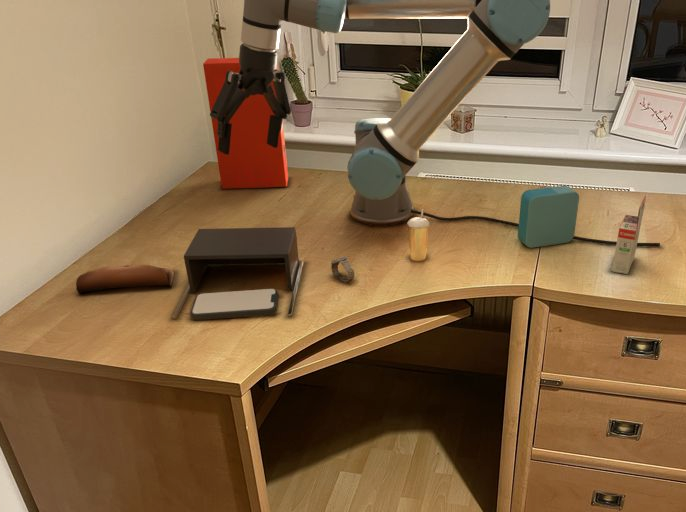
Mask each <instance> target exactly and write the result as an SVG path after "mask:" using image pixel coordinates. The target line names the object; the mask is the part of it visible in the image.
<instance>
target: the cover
mask: <svg viewBox="0 0 686 512" xmlns="http://www.w3.org/2000/svg"><path fill="white" fill-rule="evenodd" d="M183 260H184V261H183V262H184V264H185V271H186V276H187V281H188V284H189V286H190V293H196V290H197V288H198V286H199V284H200V282H201V280H202V278H203V276H204V274H205V272H206V270H207V268H208V266H221V265H222V266H223V265H224V266H227V265H228V266H229V265H230V266H231V265H278V264H279V265H284V266H285V276H286V284H287V291H290V292H291V291H292V292H293V289H294V285H295V281H296V277H297V273H298V268H299V264H300V259H299V248H298V237H297V228H296V226H292V227H291V226H287V227H285V226H283V227H281V226H279V227H231V228H230V227H229V228H225V227H224V228H198V229H197V231H196V233H195V235H194V237H193V238H192V240H191V242H190V244H189V245H188V247H187V249H186V251H185V253H184V254H183Z"/></svg>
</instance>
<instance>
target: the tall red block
mask: <svg viewBox="0 0 686 512" xmlns="http://www.w3.org/2000/svg"><path fill="white" fill-rule="evenodd" d="M202 64H203V65H202V66H203V73H204V80H205V86H206V93H207V100H208V106H209V113H210V112H211V110H212V108H213V106H214V104H215V102H216V100H217V97H218V95H219V93H220V91H221V89H222V87H223V85H224V82H225V78H226V73H227V71H228V70H230V71H232V72H234V73H239V71H240V63H239V57H218V58H217V57H216V58H215V57H214V58H206V60H205V61H204V62H203V63H202ZM276 69H277V70H278V63H277V64H276ZM239 82H240V81H239ZM270 85H271V87H272V89H273V90H274V95H275V97H276V93H275V89H274V85H273V81H272V82H271V84H270ZM242 90H243V88H242ZM243 91H244V90H243ZM276 98H277V97H276ZM270 115H275V114H274V113H273V112H272V110H271V108H270V106H269V104H268V103H267V101H266V99H265V97H264V95H259V94H256V95H250V96H249V97H248V98H246V99H245V100H244V101H243V103H242V104H241V106H240V107H239V108H238V110H237V111H236V113H235V114H234V115H233V117H232V118H231V119H230V121H229V123H231V124H232V128H231V139H230V150H229V154H228V155H226V154H224V153H222V152H221V151H219V150H218V144H219V136H218V135H217V128H218V120H216V119H214V118H212V117H211V116H210V119H211V126H212V132H213V138H214V145H215V151H216V160H217V165H218V171H219V178H220V184H221V185H220V186H221V189H222V190H228V189H230V190H231V189H257V188H260V189H261V188H286V187H288V181H289V171H288V163H287V162H288V161H287V152H286V151H287V150H286V141H285V130H284V122H283V120H284V119H283V120H282V126H281V127H282V128H281V131H280V132H279V138H278V146H277V148H274V147H272V146H270V145H268V144H267V137H268V128H269V120H270ZM225 116H226V115H225Z"/></svg>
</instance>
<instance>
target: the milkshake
mask: <svg viewBox="0 0 686 512" xmlns="http://www.w3.org/2000/svg"><path fill="white" fill-rule="evenodd" d="M423 212H425V210H424V209H421V215H420V217H416V216H415V217H411V218H410V219H409V220H407V223H406V224H407V232H408V242H409V243H408V244H409V255H410V259H411V260H412V261H414V262H421V261H425V260H426V258H427V248H428V237H429V229H430V221H429V220H428V219H426V218H425V217H424V215H423Z"/></svg>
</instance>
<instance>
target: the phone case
mask: <svg viewBox="0 0 686 512" xmlns="http://www.w3.org/2000/svg"><path fill="white" fill-rule="evenodd" d="M278 303H279V290H278V289H276V288H261V289H259V288H258V289H244V290H231V291H217V292H202V293H198V294H197V295H195V297H194V299H193V303H192V306H191V309H190V311H189V316H190V318H191V320H193V321H204V320H218V319H219V320H220V319H233V318H244V317H261V316H272V315H275V314H276V313H277V311H278Z"/></svg>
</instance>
